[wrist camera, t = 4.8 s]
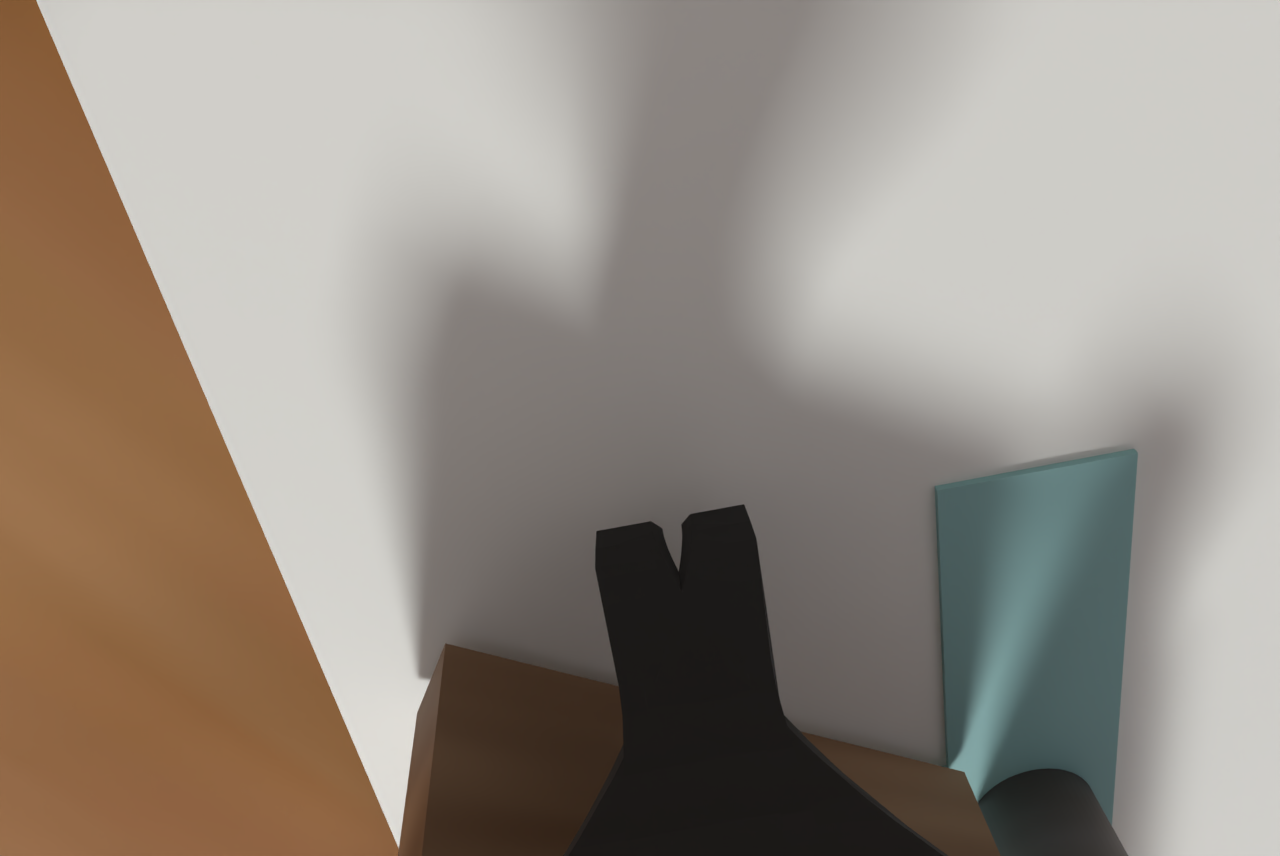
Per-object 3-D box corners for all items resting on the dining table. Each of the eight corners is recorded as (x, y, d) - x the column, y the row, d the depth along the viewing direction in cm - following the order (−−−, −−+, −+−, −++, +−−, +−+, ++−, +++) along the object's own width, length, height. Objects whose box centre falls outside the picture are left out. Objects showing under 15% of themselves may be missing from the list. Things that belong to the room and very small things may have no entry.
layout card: (2099, -550, 9) (2161, -563, 9) (1479, 1059, 21) (1494, 1080, 21) (-2, -127, 9) (-23, -126, 9) (565, 1221, 22) (565, 1245, 21)
